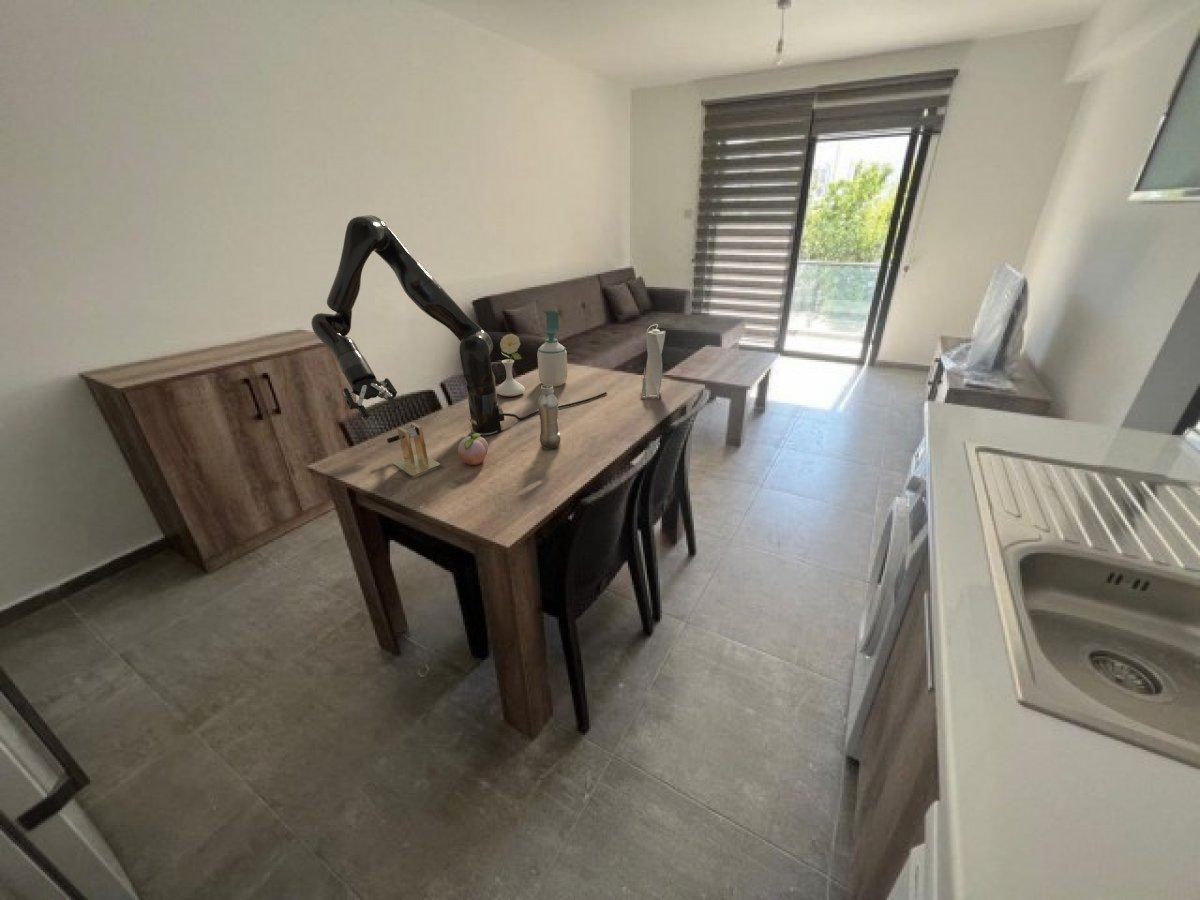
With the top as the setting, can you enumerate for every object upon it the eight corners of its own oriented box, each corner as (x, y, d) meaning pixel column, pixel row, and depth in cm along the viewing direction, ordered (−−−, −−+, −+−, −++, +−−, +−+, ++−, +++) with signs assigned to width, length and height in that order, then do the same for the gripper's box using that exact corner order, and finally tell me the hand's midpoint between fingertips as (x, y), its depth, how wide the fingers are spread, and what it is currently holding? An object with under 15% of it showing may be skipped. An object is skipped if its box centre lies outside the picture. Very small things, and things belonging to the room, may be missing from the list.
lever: (388, 445, 141) (385, 437, 140) (407, 438, 145) (404, 431, 144) (404, 440, 132) (400, 431, 132) (424, 433, 136) (420, 425, 136)
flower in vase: (490, 395, 194) (484, 333, 183) (510, 387, 202) (505, 328, 191) (514, 401, 187) (508, 338, 176) (533, 393, 196) (529, 332, 184)
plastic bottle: (564, 443, 153) (561, 384, 144) (555, 452, 148) (552, 391, 139) (545, 440, 155) (542, 381, 146) (536, 449, 150) (532, 389, 141)
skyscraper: (642, 392, 196) (645, 323, 184) (662, 392, 195) (666, 323, 183) (641, 399, 189) (643, 327, 176) (661, 400, 188) (666, 328, 175)
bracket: (393, 466, 140) (384, 427, 134) (421, 456, 146) (414, 417, 140) (412, 479, 133) (404, 438, 128) (441, 467, 139) (434, 427, 134)
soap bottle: (535, 387, 202) (530, 312, 188) (543, 378, 213) (539, 306, 199) (564, 388, 200) (561, 312, 186) (570, 379, 211) (568, 307, 197)
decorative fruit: (465, 457, 145) (460, 427, 141) (492, 457, 145) (488, 427, 140) (456, 472, 137) (451, 441, 132) (484, 473, 136) (480, 441, 132)
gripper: (333, 367, 138) (360, 414, 137) (381, 357, 148) (406, 401, 146) (330, 381, 144) (356, 426, 142) (377, 370, 153) (401, 412, 152)
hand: (381, 413), depth 144 cm, fingers open, 8 cm apart
